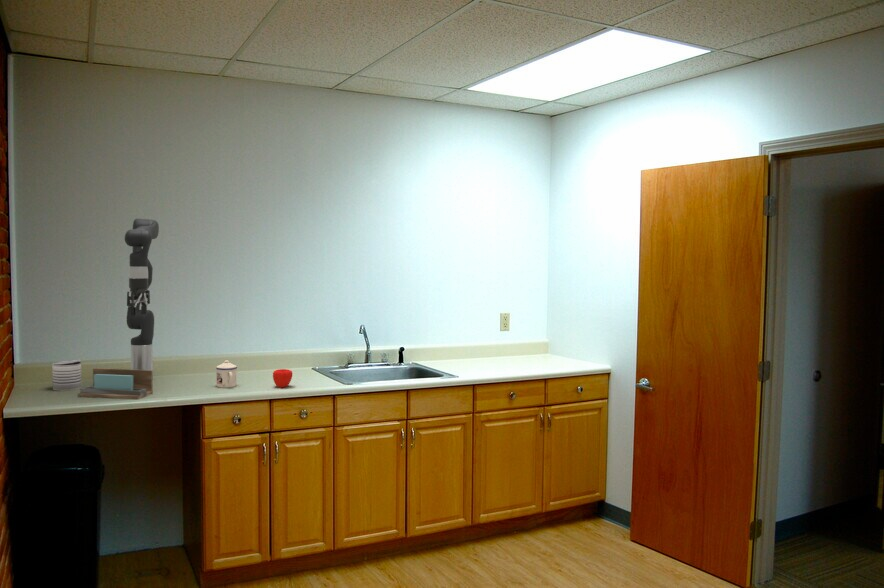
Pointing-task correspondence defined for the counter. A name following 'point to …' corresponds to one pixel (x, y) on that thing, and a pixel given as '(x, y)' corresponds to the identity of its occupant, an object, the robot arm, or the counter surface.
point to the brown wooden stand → (140, 390)
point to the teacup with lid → (226, 375)
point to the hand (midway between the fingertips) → (138, 315)
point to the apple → (282, 377)
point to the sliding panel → (113, 382)
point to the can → (66, 375)
